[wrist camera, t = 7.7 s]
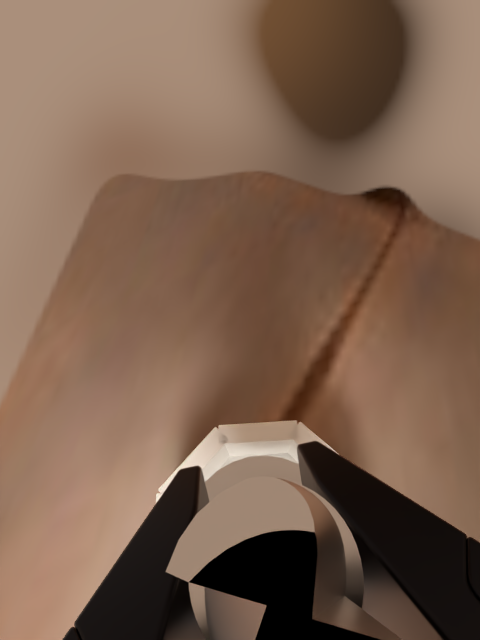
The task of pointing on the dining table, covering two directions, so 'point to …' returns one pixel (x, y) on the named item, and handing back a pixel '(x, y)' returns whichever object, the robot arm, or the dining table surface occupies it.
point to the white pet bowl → (246, 445)
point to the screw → (272, 560)
